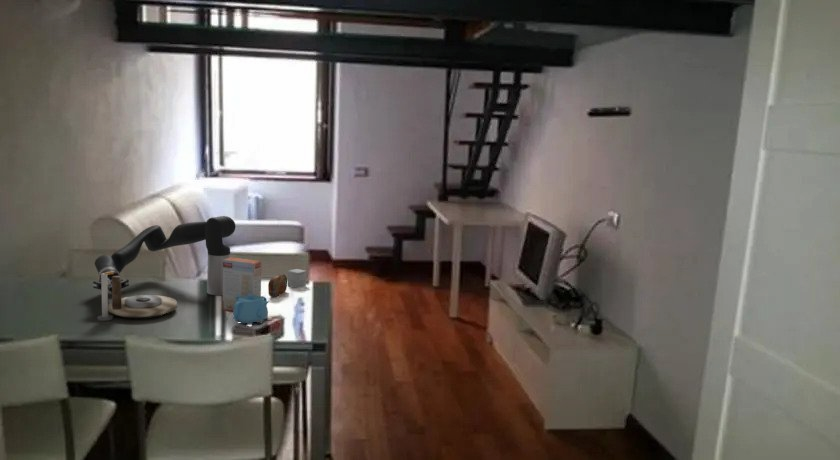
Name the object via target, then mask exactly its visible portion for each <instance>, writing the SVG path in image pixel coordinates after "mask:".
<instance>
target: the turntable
mask: <svg viewBox="0 0 840 460" xmlns="http://www.w3.org/2000/svg"><path fill="white" fill-rule="evenodd" d="M121 279H122V276H121V275H120V276H113V277H112V292H111V299H112V300H111V302H109V303H108V313H111V314H112V315H115V316H117V317H118V316H119V317H120V316H125V317H148V316H156V315H161V314H165V313H167V314H169V313H170V312H173V311H175V310H176V309H177V308H178V302H177V300H176V299H174V298H173V297H169V296H164V295H157V294H156V295H155V294H154V295H152V294H151V295H150V294H146V295H145V294H143V295H141V294H140V295H132V296H125V297H122V289H121ZM165 315H166V314H165Z"/></svg>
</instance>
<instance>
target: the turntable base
mask: <svg viewBox="0 0 840 460" xmlns="http://www.w3.org/2000/svg"><path fill="white" fill-rule="evenodd" d="M161 315H162V316H165V315H167V314H166V313H165V315H164V314H161ZM161 315H156V316H148V317H125V316H119V317H121V318H122V319H123V318H124V319H131V320H146V319H148V320H149V319H153V318H159V317H162V316H161Z"/></svg>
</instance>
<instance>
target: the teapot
mask: <svg viewBox="0 0 840 460" xmlns="http://www.w3.org/2000/svg"><path fill="white" fill-rule="evenodd" d="M269 303H270V301H268V299H267V297H266V296H263V295H262V296H261V297H259V296H254V294H248V295H247V296H244V297H242V296H240V295H237V296H236V303H235V305H234V310H233V312H232V317H233V320H235V321H236V322H241V323H240V324H245V323H252V322H256V321H260V320H263V319H265V320H266V319H267V317H268V316H269V310H268V307H267V305H268V304H269ZM263 321H264V320H263ZM252 324H253V323H252Z"/></svg>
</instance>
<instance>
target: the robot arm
mask: <svg viewBox="0 0 840 460" xmlns="http://www.w3.org/2000/svg"><path fill="white" fill-rule="evenodd" d="M235 231H236V223H235V220H233V218H231V217H230V216H228V215H227V216H226V215H220V216H212V217H209V218H208V219H207V220H206V221H193V222H186V223H181V224H178V225H177V226H175V227H174V229H173V230H172V231H171V233H170V235H169V236H168V238H167V237H166V235H165V233H164V230H163V229H162V227H161V225H157V224H156V225H152V226H148V227H147V228H145V229H143V230H142V231H141V232H140V233H138V234H137V235H136V236H135V237H133V239H132V240H131V241H129V243H128V244H125V246H123V247H122V248H120V249H119V250H116V251H115V252H113V253H112V254H111V255H108V254H104V255H101V256H98V257H96V258H95V260H94V266H95V268H96V270H97V272H98V273H97V274H98V281H97V280H94V281H92V286H93V289H96V290H101V291H102V288H101V274H102V273H105V272H112V271H113V272H114V274H110V275H107V279H108V292H110V293H112V277H113V276H121V275H120V274H121V272H122V271H123V270H124V268H125V267H126V266H128V265H129V264H131V263H132V262H133V261H135V260H136V258H137V257H138V255H139V253H140V251H141V248H142V246H143V243H144V244H145V246H146V249H147V250H148V251H150V252H158V251H161V250H165V249H166V250H167V249H169V248H172V247H178V246H185V245H190V244H196V243H198V242H203V241H205V247H206V250H207V274H206V276H207V277H206V279H207V287H206V291H207V292H206V294H208V295H211V296H223V260H224V259H227V258H230V257H231V247H230V246H228V245H225V244H224V242H223V241H224V240H223V239H224V238H228V237H230V236H232V235H233V234H234V233H235ZM129 286H130V279H128V278H127V279H126V278H125V279H123V278H121V290H122V289H125V288H127V287H129Z"/></svg>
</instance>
